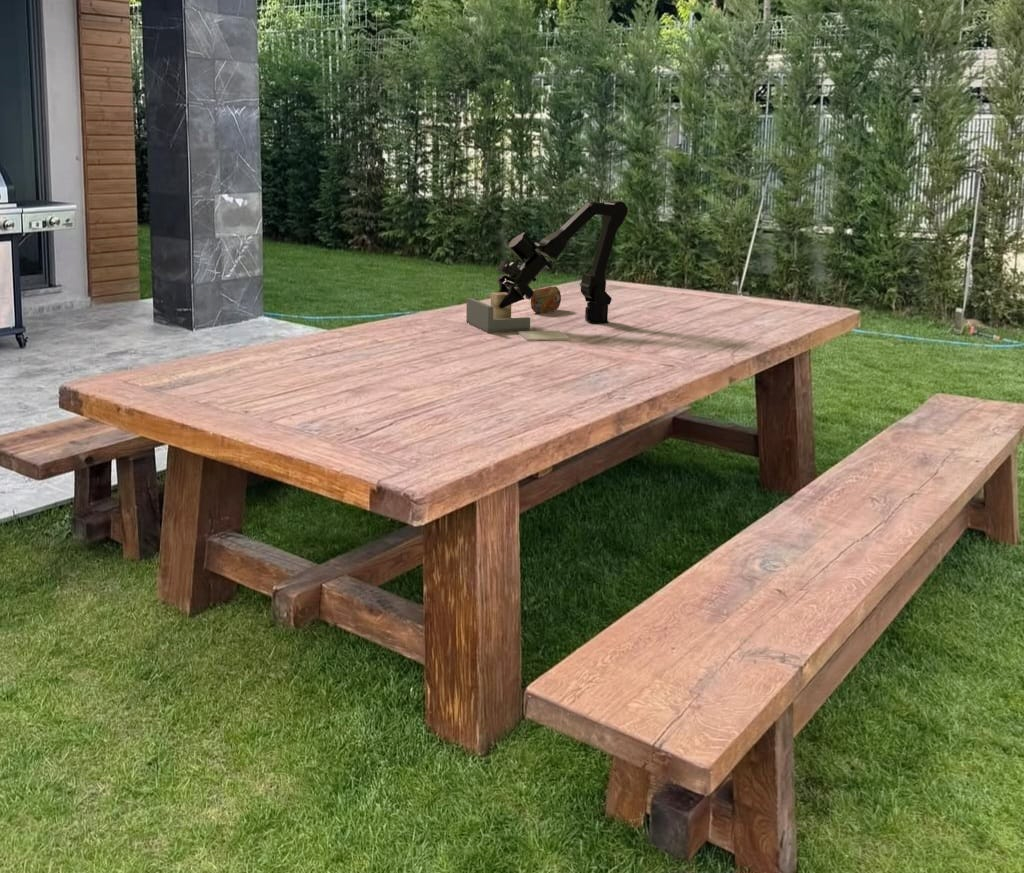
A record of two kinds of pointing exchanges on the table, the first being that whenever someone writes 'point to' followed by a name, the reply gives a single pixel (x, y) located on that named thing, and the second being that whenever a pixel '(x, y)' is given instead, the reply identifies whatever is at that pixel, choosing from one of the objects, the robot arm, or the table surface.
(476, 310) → the grey walled tray
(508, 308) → the block
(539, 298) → the tin
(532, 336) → the tile
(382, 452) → the table surface
